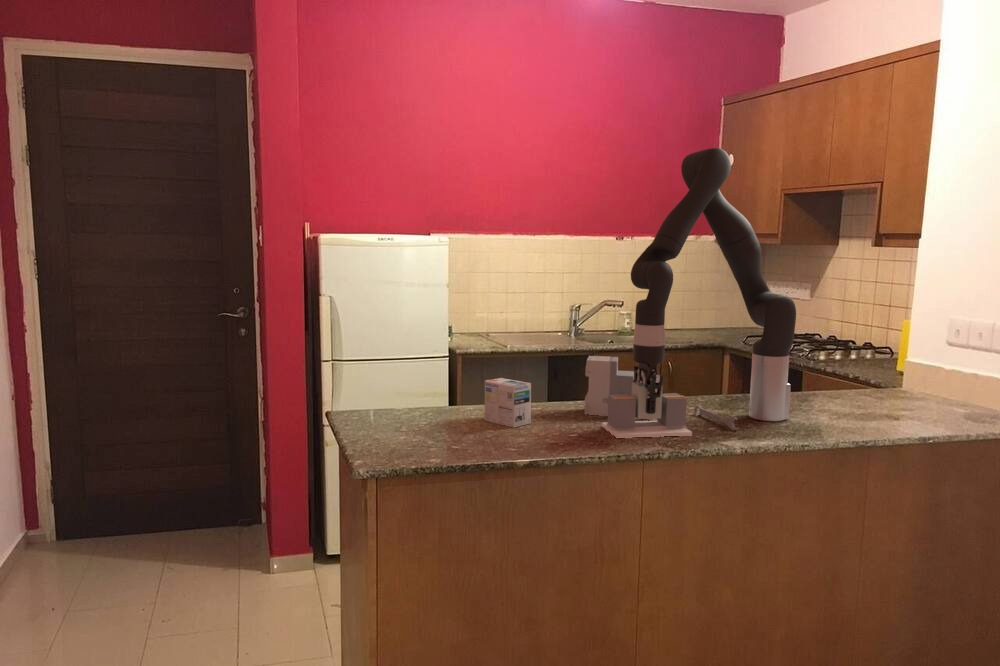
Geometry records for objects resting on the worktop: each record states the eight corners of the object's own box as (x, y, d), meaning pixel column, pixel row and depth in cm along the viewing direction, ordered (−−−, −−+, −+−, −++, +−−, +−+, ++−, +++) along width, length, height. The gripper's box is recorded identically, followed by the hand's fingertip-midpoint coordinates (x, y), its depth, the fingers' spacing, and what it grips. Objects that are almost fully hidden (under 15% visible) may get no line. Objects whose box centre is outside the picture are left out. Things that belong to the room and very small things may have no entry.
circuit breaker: (638, 418, 202) (640, 362, 200) (584, 415, 205) (585, 360, 203) (638, 411, 210) (640, 358, 208) (586, 408, 213) (588, 355, 211)
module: (653, 413, 192) (655, 381, 191) (661, 418, 187) (662, 385, 186) (630, 414, 191) (632, 381, 190) (637, 418, 186) (639, 385, 185)
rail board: (672, 423, 197) (673, 389, 196) (691, 436, 185) (693, 400, 184) (601, 426, 194) (602, 391, 192) (616, 438, 182) (618, 402, 181)
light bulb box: (531, 423, 195) (532, 382, 194) (514, 428, 190) (514, 386, 189) (501, 416, 203) (501, 376, 201) (483, 421, 198) (483, 380, 196)
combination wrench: (693, 403, 208) (735, 418, 189) (698, 402, 208) (739, 418, 189) (693, 416, 208) (734, 433, 189) (697, 416, 209) (739, 433, 189)
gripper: (675, 346, 180) (672, 417, 182) (652, 338, 194) (650, 403, 196) (644, 347, 179) (642, 418, 181) (624, 338, 193) (622, 404, 195)
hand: (646, 410), depth 189 cm, fingers closed on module, 5 cm apart
